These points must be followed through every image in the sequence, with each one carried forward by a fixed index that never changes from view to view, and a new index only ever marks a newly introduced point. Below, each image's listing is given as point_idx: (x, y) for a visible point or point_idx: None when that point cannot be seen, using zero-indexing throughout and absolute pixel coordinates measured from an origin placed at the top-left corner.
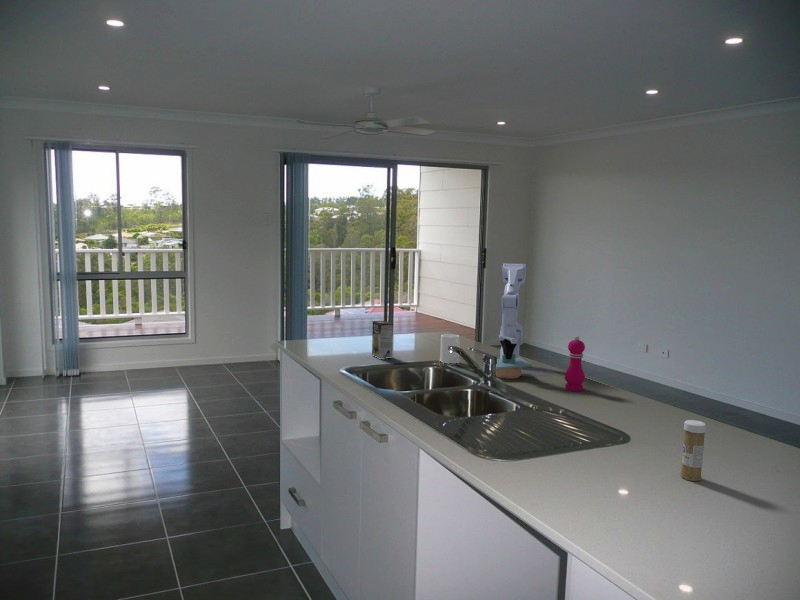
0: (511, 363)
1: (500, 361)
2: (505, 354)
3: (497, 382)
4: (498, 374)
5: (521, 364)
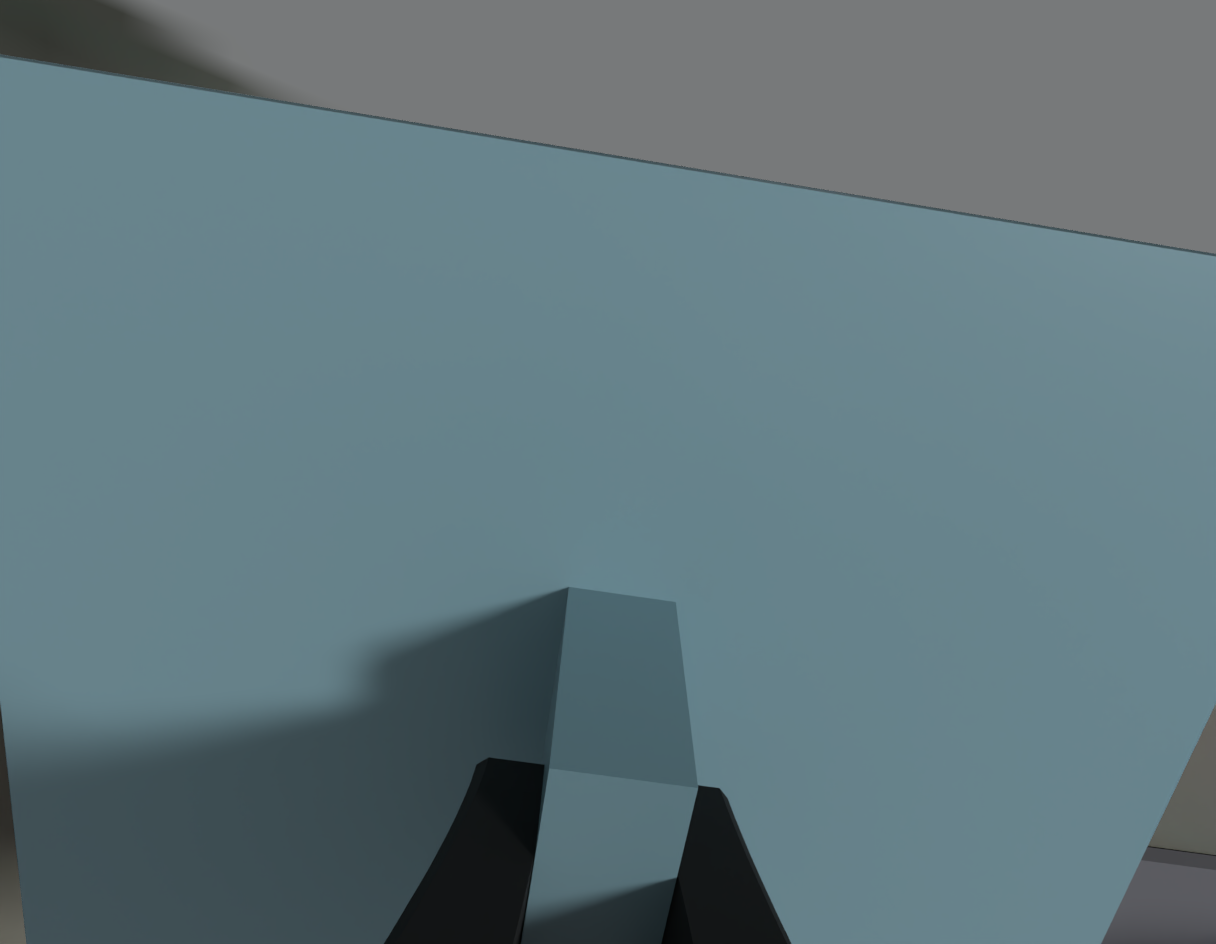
0: (367, 764)
1: (826, 609)
2: (438, 888)
3: (28, 8)
4: None
5: (123, 921)
